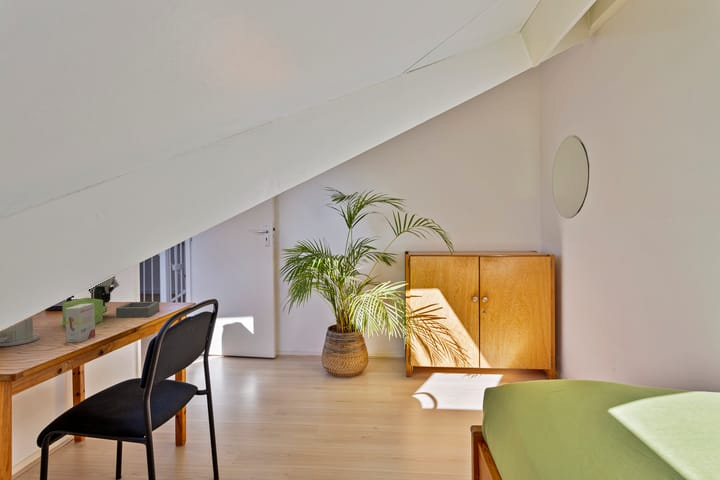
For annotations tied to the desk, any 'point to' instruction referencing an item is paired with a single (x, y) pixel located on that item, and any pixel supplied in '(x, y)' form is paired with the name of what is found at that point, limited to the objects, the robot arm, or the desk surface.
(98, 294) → the battery
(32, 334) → the robot arm
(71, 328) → the ink box
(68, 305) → the lime green rounded box
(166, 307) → the desk surface
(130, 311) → the tray
